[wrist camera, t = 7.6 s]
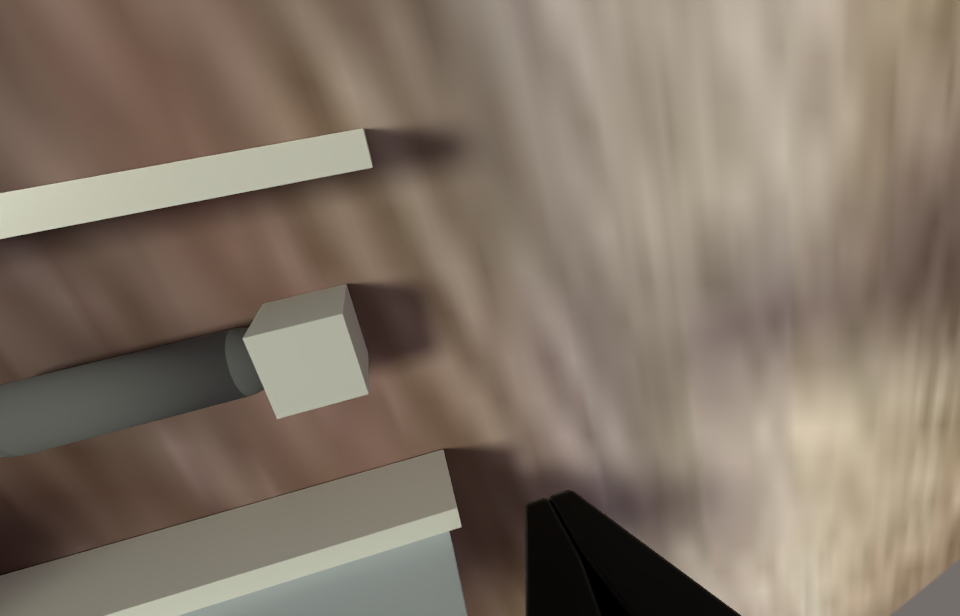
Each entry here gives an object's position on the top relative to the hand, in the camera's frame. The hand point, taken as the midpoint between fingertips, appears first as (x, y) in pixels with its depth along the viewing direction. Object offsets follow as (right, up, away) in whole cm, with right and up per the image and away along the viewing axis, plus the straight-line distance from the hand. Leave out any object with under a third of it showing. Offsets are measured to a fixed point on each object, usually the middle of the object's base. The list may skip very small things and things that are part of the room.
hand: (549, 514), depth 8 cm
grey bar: (-13, +1, +9) cm, 15 cm away
